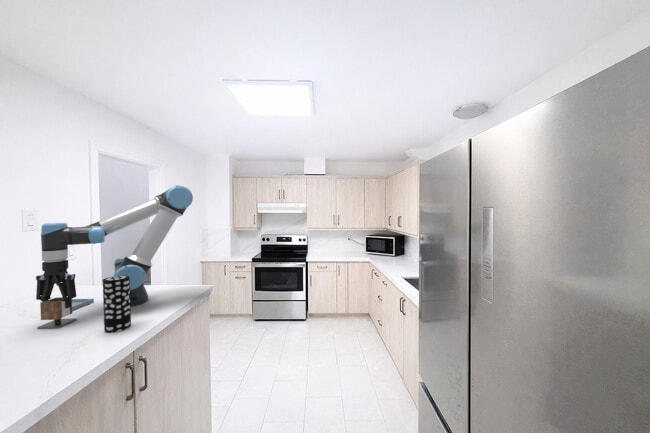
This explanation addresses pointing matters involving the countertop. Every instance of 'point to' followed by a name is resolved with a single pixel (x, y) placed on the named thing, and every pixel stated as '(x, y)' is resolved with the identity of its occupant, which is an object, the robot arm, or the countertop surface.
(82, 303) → the tray
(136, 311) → the countertop surface
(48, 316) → the walnut block
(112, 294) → the white-spotted black cylinder
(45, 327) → the brass post base plate
